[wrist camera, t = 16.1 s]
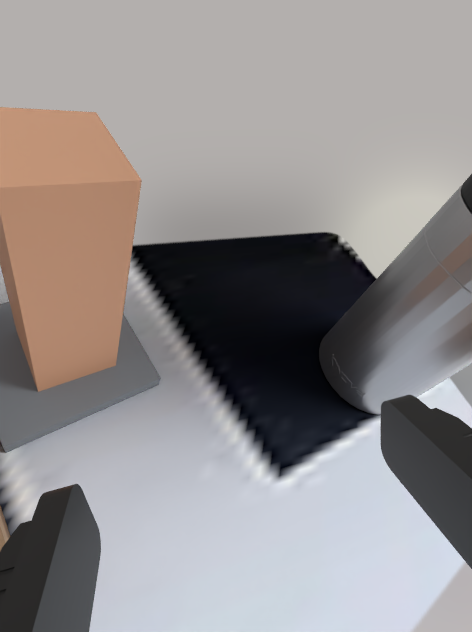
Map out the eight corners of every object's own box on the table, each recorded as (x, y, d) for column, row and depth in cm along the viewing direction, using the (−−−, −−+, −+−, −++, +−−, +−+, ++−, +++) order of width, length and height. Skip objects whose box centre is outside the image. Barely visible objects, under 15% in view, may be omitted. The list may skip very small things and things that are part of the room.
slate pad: (102, 287, 30) (103, 279, 29) (158, 384, 27) (160, 378, 26) (-41, 323, 25) (-45, 314, 24) (5, 452, 21) (2, 447, 20)
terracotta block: (90, 312, 27) (95, 112, 16) (115, 365, 25) (141, 180, 14) (16, 330, 24) (-39, 104, 13) (38, 391, 23) (-5, 187, 11)
